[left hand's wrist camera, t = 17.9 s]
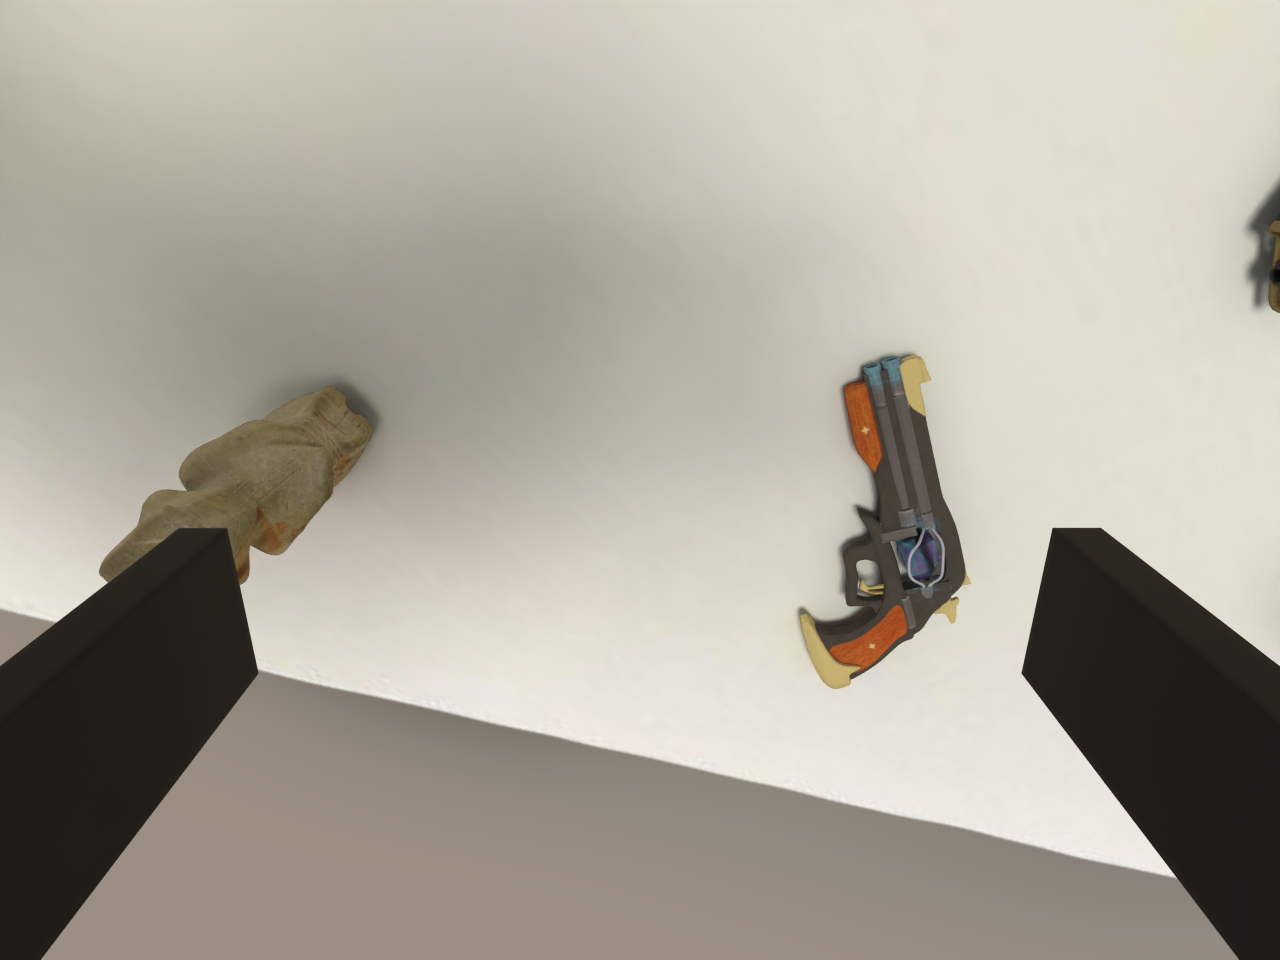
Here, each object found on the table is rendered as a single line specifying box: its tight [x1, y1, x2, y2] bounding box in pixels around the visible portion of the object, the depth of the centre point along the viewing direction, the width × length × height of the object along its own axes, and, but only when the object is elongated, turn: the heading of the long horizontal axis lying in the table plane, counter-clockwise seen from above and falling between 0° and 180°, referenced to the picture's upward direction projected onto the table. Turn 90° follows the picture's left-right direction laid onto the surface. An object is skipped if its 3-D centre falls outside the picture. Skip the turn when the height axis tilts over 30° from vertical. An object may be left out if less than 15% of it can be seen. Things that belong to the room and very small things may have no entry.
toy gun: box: [800, 355, 970, 689], centre depth 45 cm, size 3×19×10 cm
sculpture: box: [99, 385, 373, 585], centre depth 36 cm, size 6×7×15 cm
